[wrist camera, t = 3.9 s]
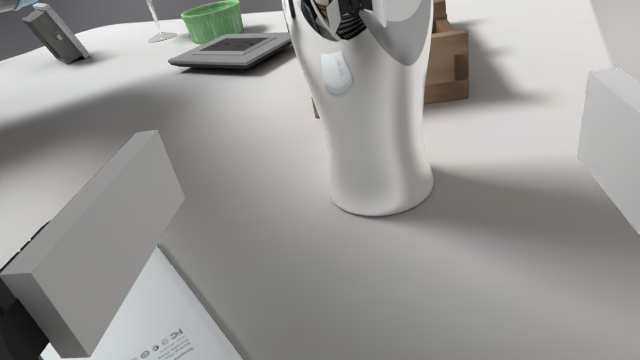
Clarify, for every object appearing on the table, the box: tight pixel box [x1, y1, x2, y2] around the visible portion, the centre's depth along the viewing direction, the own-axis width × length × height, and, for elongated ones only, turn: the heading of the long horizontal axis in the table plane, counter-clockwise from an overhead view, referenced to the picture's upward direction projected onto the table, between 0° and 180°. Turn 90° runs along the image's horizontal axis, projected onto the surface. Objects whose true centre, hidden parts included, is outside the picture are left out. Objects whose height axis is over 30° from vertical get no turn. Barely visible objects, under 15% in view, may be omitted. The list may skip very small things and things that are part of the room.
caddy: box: [311, 0, 469, 118], centre depth 44 cm, size 12×23×5 cm, turn 175°
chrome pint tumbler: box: [281, 0, 434, 216], centre depth 23 cm, size 7×7×15 cm
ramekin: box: [181, 0, 243, 44], centre depth 69 cm, size 9×9×4 cm
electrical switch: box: [22, 3, 90, 64], centre depth 73 cm, size 9×5×9 cm, turn 40°
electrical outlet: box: [168, 33, 292, 69], centre depth 56 cm, size 13×10×2 cm
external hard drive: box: [41, 246, 243, 360], centre depth 19 cm, size 2×8×12 cm
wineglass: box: [146, 0, 176, 42], centre depth 74 cm, size 7×7×12 cm
